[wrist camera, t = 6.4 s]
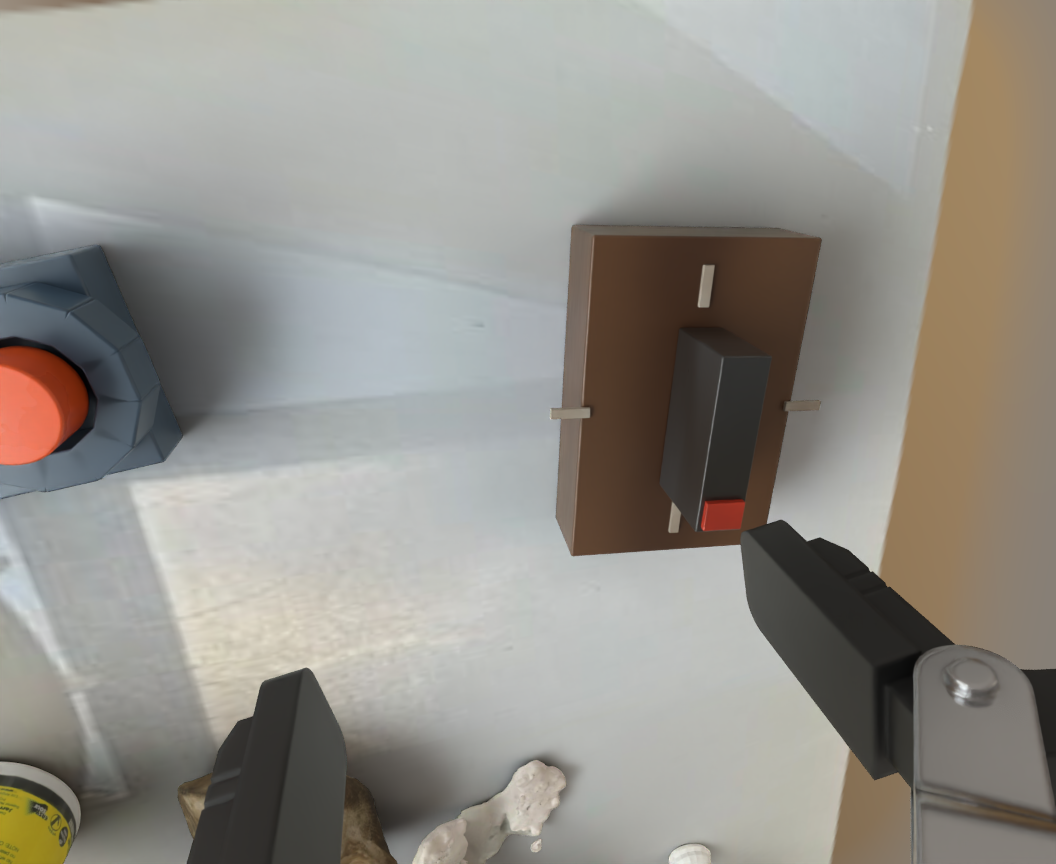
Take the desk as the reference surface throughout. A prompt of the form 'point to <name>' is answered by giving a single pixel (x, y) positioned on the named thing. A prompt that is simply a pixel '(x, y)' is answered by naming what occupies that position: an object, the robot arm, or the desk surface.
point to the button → (37, 404)
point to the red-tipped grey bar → (713, 426)
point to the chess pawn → (690, 855)
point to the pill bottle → (35, 816)
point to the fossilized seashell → (362, 831)
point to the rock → (496, 819)
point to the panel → (667, 369)
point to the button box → (86, 368)
